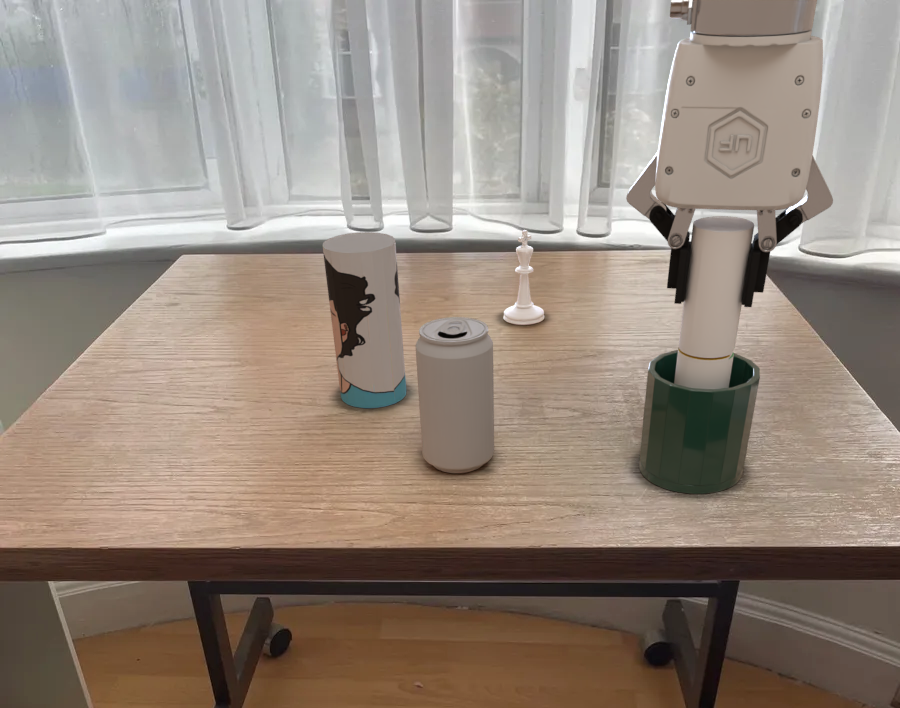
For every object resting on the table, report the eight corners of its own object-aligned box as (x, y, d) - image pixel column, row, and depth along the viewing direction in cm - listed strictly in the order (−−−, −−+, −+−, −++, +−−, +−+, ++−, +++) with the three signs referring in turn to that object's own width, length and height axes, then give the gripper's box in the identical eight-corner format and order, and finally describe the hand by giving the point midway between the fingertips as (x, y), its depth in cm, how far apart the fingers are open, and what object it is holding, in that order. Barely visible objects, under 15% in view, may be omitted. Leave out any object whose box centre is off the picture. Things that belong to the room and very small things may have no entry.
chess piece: (494, 318, 108) (494, 231, 102) (523, 307, 111) (524, 222, 105) (524, 328, 105) (525, 239, 99) (553, 317, 108) (555, 229, 102)
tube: (701, 431, 72) (729, 235, 63) (659, 414, 74) (680, 224, 65) (734, 415, 74) (766, 223, 65) (692, 399, 76) (717, 213, 67)
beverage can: (417, 476, 78) (408, 342, 71) (428, 441, 83) (421, 313, 76) (490, 478, 77) (488, 342, 70) (497, 443, 82) (496, 314, 75)
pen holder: (742, 449, 79) (759, 351, 74) (741, 498, 73) (760, 395, 67) (643, 441, 81) (653, 345, 76) (634, 488, 75) (644, 387, 69)
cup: (391, 375, 95) (379, 228, 86) (417, 398, 91) (406, 245, 82) (331, 389, 93) (312, 239, 84) (354, 413, 88) (336, 257, 79)
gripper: (613, 22, 56) (595, 311, 67) (902, 16, 53) (834, 323, 64) (625, 11, 62) (607, 279, 73) (887, 5, 58) (826, 288, 69)
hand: (713, 297), depth 68 cm, fingers closed on tube, 4 cm apart
